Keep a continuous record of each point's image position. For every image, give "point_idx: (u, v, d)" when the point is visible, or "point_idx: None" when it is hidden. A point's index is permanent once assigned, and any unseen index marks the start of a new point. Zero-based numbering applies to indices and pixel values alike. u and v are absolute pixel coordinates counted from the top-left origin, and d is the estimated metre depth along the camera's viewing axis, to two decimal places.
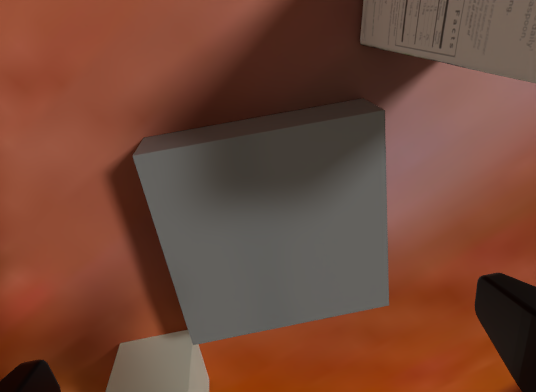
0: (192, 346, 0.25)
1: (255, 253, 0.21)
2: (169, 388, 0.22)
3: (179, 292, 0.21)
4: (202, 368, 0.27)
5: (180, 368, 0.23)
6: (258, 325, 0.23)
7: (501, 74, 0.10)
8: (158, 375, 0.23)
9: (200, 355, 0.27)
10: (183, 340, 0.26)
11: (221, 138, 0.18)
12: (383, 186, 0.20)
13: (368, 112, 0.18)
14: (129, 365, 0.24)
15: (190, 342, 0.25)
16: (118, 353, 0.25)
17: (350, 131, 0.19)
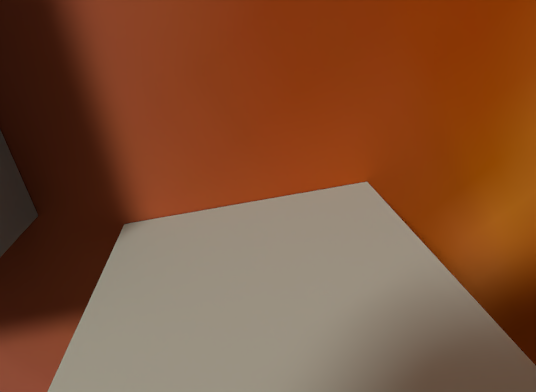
0: (113, 267, 0.06)
1: None
2: None
3: None
4: (274, 219, 0.07)
5: None
6: None
7: None
8: None
9: (233, 214, 0.07)
10: None
11: None
12: None
13: None
14: None
15: None
16: None
17: None
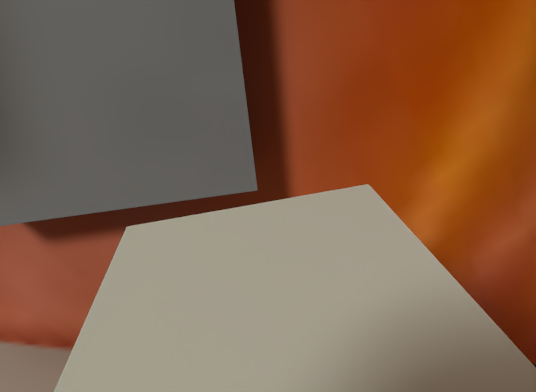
0: (115, 270, 0.06)
1: (85, 89, 0.13)
2: None
3: (158, 200, 0.15)
4: (276, 222, 0.07)
5: None
6: (231, 90, 0.14)
7: None
8: None
9: (235, 217, 0.08)
10: None
11: None
12: None
13: None
14: None
15: None
16: None
17: None
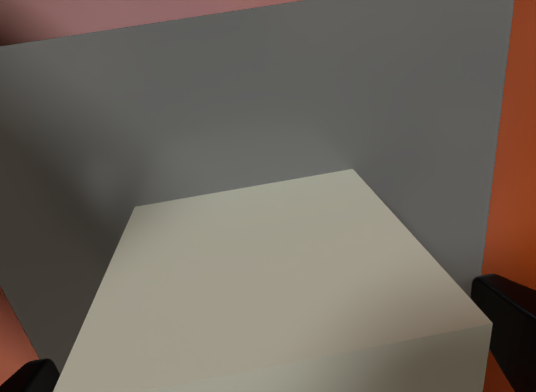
0: (126, 241, 0.07)
1: None
2: None
3: None
4: (269, 201, 0.08)
5: None
6: None
7: None
8: None
9: (232, 197, 0.08)
10: None
11: None
12: (106, 39, 0.07)
13: None
14: None
15: None
16: None
17: None
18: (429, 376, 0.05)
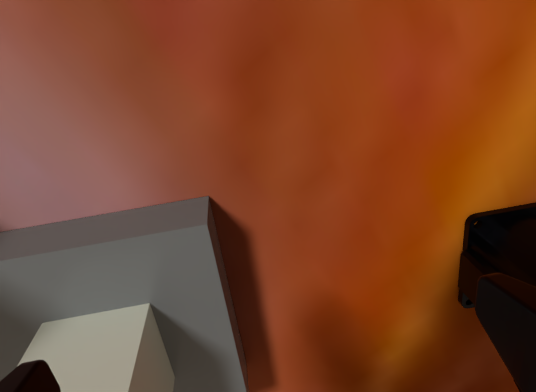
0: (31, 347, 0.17)
1: None
2: None
3: None
4: (100, 324, 0.17)
5: None
6: (228, 357, 0.20)
7: None
8: None
9: (86, 320, 0.18)
10: None
11: None
12: (22, 260, 0.17)
13: None
14: None
15: None
16: None
17: None
18: None
